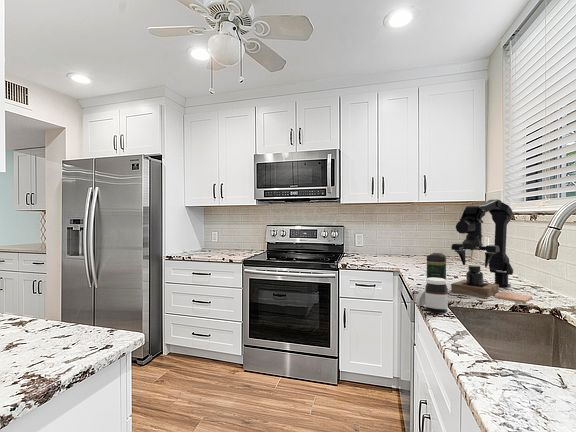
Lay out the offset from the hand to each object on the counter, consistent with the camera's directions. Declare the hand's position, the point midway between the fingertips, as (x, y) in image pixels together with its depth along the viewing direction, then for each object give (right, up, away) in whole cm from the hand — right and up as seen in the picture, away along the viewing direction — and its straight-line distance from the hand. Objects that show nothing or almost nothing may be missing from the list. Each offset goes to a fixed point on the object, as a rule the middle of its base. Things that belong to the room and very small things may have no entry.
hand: (474, 266), depth 148 cm
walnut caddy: (0, -12, 0) cm, 12 cm away
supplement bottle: (0, -12, 0) cm, 12 cm away
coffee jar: (-19, -12, -3) cm, 23 cm away
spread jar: (-32, -12, -26) cm, 43 cm away
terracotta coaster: (+10, -12, -11) cm, 19 cm away
